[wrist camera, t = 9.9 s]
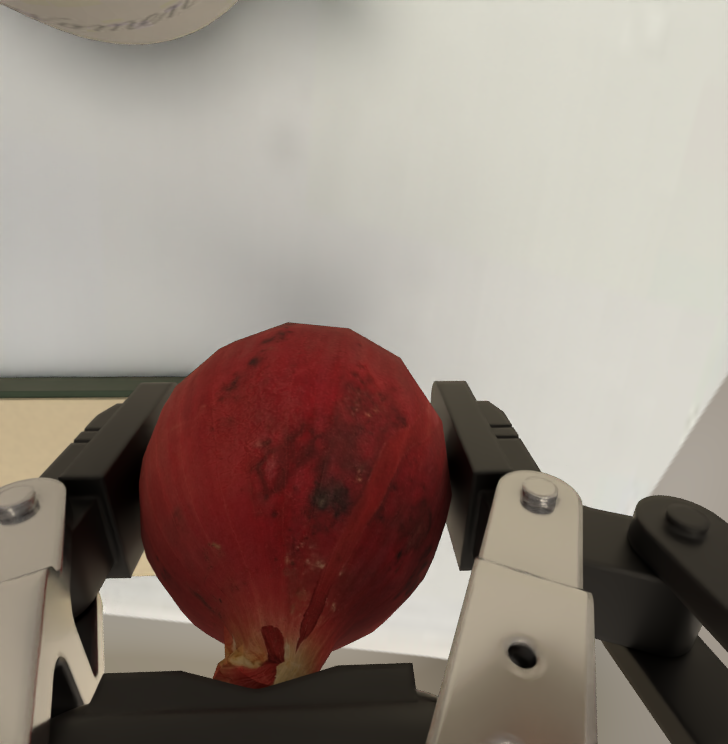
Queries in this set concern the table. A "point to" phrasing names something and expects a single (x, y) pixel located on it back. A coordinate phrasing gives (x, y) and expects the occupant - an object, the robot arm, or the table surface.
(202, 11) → the teacup
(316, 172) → the table surface
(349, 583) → the pomegranate
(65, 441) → the notebook
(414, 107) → the table surface
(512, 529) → the robot arm
